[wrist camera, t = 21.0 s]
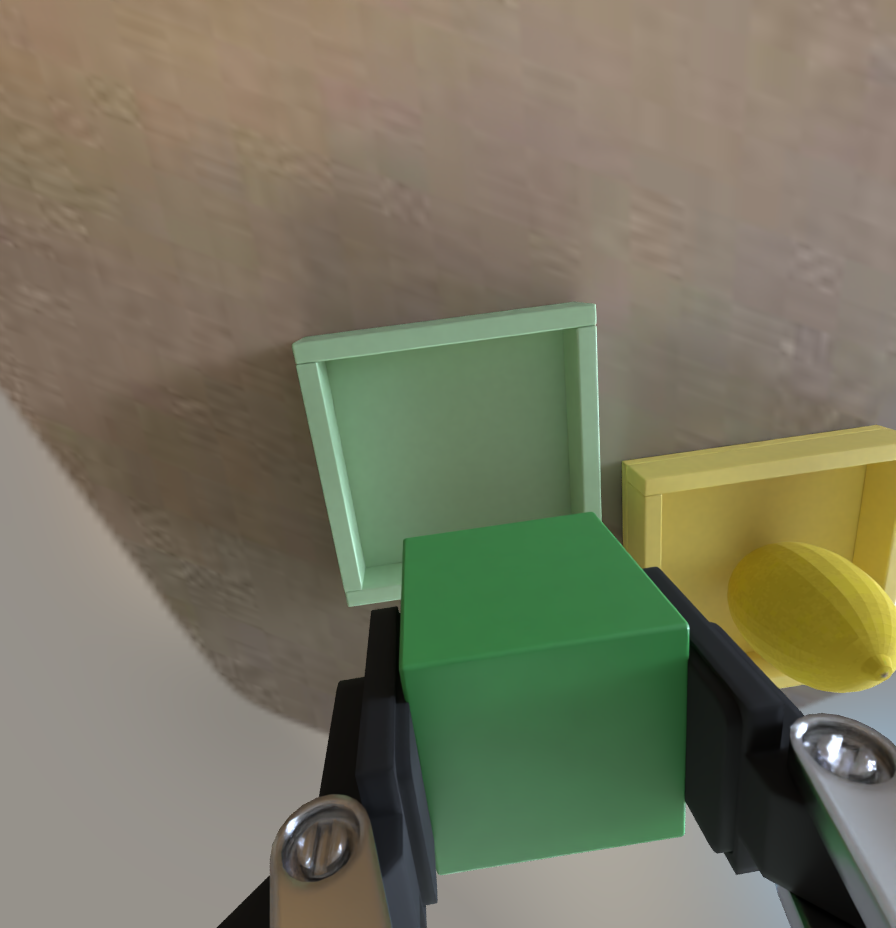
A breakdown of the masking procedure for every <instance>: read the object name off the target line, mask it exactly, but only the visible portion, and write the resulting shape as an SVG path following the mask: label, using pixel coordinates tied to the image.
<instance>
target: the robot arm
mask: <svg viewBox="0 0 896 928" xmlns="http://www.w3.org/2000/svg"><path fill="white" fill-rule="evenodd" d="M642 570H643V571H644V572H645V573H646V574H647V575H648V577H649V578H650V579H651V580H652V581H653V582H654V584H655V585H656V586H657V587H658V588H659V590H660V591H661V592H662V593H663V594H664V595H665V597H666V598H667V599H668V600H669V601H670V602H671V604H672V605H673V606H674V607H675V608H676V610H677V611H678V612H679V613H680V614H681V615H682V617H683V618H684V619H685V620H686V621H687V622H688V624H689V659H688V675H687V722H686V770H685V802H686V803H687V805H688V807H689V809H690V810H691V812H692V814H693V816H694V818H695V820H696V822H697V823H698V825H699V827H700V829H701V831H702V832H703V834H704V836H705V838H706V840H707V841H708V843H709V845H710V846H711V848H712V849H713V851H714V852H716V853H723V852H724V854H725V856H726V857H727V859H728V861H729V863H730V865H731V866H732V868H733V870H734V872H735V873H736V874H737V875H738V874H743V873H749V872H755V871H760V872H761V874H762V876H763V877H765V878H767V879H768V880H770V881H772V882H774V883H775V885H776V889H777V893H778V896H779V898H780V901H781V903H782V906H783V908H784V911H785V913H786V916H787V919H788V921H789V924H790V926H791V928H896V746H895V745H894V744H893V743H892V742H891V741H890V740H889V739H888V738H886V737H885V736H883V735H882V734H881V733H879V732H878V731H876V730H875V729H873V728H871V727H869V726H867V725H865V724H863V723H861V722H859V721H856V720H853V719H850V718H846V717H843V716H840V715H833V714H825V713H818V714H809V715H806V716H804V715H803V713H802V712H801V711H800V710H799V709H798V708H797V707H796V706H795V705H794V704H793V703H792V702H791V701H790V700H789V699H788V698H787V697H786V695H785V694H784V693H783V692H782V691H781V690H780V689H779V688H778V687H777V686H776V685H775V684H774V683H773V682H772V681H771V680H770V679H769V677H768V676H767V675H766V674H765V673H764V672H763V671H762V670H761V669H760V668H759V667H758V666H757V665H756V664H755V663H754V662H753V661H752V660H751V658H750V657H749V656H748V655H747V654H746V653H745V652H744V651H743V650H742V649H741V648H740V647H739V646H738V645H737V644H736V643H735V642H734V640H733V639H732V638H731V637H730V636H729V635H728V634H727V633H726V632H725V631H724V630H723V629H722V628H721V627H720V626H719V625H717V624H716V623H713V622H709V621H708V620H707V619H706V618H705V617H704V616H703V615H702V613H701V612H700V611H699V610H698V609H697V608H696V607H695V606H694V605H693V604H692V603H691V602H690V600H689V599H688V598H687V597H686V596H685V595H684V594H683V593H682V592H681V591H680V590H679V589H678V587H677V586H676V585H675V584H674V583H673V582H672V581H671V580H670V579H669V578H668V577H667V576H666V575H665V573H664V572H663V571H662V570H661V569H660V568H658V567H649V568H643V569H642ZM400 616H401V613H399V610H398V607H397V606H396V607H390V608H384V609H377V610H372V611H371V618H370V628H369V638H368V648H367V658H366V669H365V677H361V678H355V679H349V680H342V681H340V682H339V683H338V687H337V691H336V697H335V703H334V709H333V715H332V721H331V727H330V733H329V739H328V746H327V752H326V758H325V764H324V770H323V776H322V782H321V788H320V794H319V797H318V798H315V799H314V800H312V801H310V802H308V803H306V804H304V805H302V806H301V807H300V808H299V809H297V811H295V812H294V813H293V814H291V815H290V816H289V818H288V819H287V820H286V821H285V823H284V824H283V825H282V827H281V828H280V829H279V831H278V833H277V836H276V838H275V840H274V842H273V844H272V850H271V856H270V876H269V877H267V879H265V880H264V882H262V883H261V884H260V885H259V886H258V887H257V888H256V889H255V890H254V891H253V892H252V893H251V894H250V895H249V896H248V897H247V898H246V899H245V900H244V901H243V902H242V904H240V905H239V906H238V907H237V908H236V909H235V910H234V911H233V912H232V913H231V914H230V915H229V916H228V917H227V918H226V919H225V920H224V921H223V922H222V923H221V924H220V925H219V926H218V927H217V928H427V923H426V905H430V904H435V903H437V881H436V863H435V845H434V837H433V832H432V826H431V821H430V815H429V810H428V804H427V799H426V793H425V788H424V782H423V777H422V772H421V766H420V761H419V755H418V750H417V744H416V739H415V733H414V728H413V722H412V717H411V712H410V706H409V703H408V702H406V701H405V700H404V694H403V689H402V683H401V678H400V673H399V648H400Z"/></svg>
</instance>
